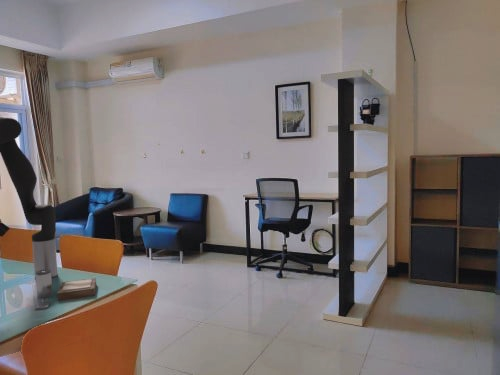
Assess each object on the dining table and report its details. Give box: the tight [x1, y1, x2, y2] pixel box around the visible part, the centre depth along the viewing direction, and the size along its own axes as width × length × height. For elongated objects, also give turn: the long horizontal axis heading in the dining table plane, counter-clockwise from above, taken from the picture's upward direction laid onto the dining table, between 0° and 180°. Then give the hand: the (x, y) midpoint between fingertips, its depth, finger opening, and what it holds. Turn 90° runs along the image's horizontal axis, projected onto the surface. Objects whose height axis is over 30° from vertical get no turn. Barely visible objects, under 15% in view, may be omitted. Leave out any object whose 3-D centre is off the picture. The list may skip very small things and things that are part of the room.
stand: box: [56, 278, 97, 302], centre depth 152 cm, size 13×13×3 cm
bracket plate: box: [34, 300, 51, 311], centre depth 139 cm, size 6×4×1 cm, turn 20°
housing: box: [35, 269, 54, 300], centre depth 149 cm, size 5×5×10 cm
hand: (6, 232), depth 142 cm, fingers open, 8 cm apart
